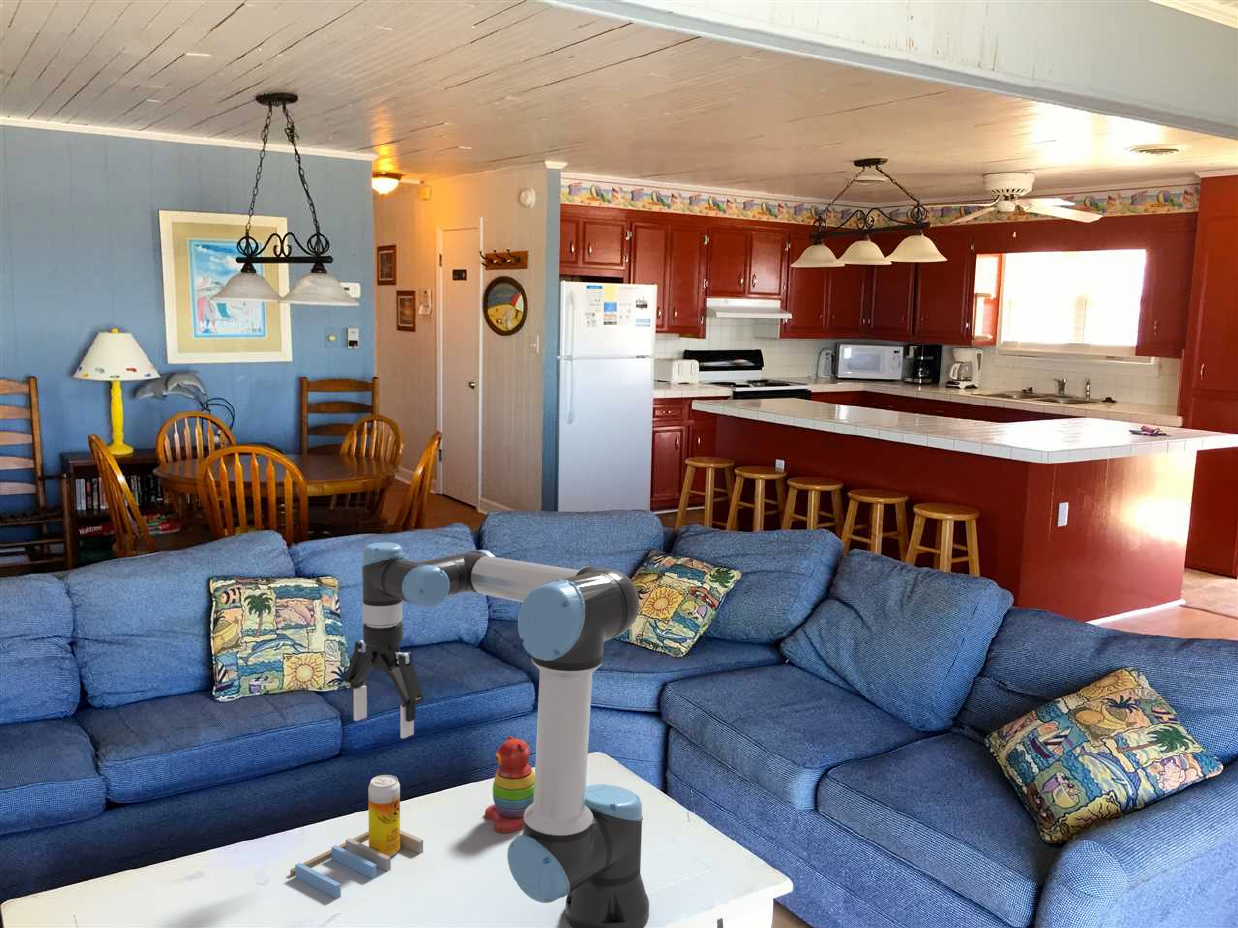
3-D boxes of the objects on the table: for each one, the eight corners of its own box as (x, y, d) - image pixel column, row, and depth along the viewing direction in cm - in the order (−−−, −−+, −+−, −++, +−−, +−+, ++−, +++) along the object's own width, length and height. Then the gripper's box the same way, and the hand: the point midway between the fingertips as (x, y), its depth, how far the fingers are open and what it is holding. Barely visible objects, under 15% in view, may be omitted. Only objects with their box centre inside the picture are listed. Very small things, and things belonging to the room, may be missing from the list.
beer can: (392, 861, 198) (392, 788, 196) (363, 857, 200) (363, 785, 198) (405, 846, 204) (404, 775, 202) (377, 842, 206) (376, 772, 204)
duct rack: (423, 851, 202) (423, 839, 202) (336, 898, 185) (336, 885, 185) (377, 830, 210) (377, 819, 210) (290, 874, 193) (290, 862, 192)
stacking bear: (482, 812, 219) (482, 734, 217) (526, 804, 224) (527, 727, 221) (498, 835, 210) (498, 753, 207) (543, 826, 214) (544, 746, 212)
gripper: (442, 630, 192) (442, 737, 194) (355, 606, 206) (356, 706, 209) (412, 639, 186) (413, 749, 188) (325, 614, 200) (326, 717, 203)
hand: (383, 727), depth 199 cm, fingers open, 13 cm apart
